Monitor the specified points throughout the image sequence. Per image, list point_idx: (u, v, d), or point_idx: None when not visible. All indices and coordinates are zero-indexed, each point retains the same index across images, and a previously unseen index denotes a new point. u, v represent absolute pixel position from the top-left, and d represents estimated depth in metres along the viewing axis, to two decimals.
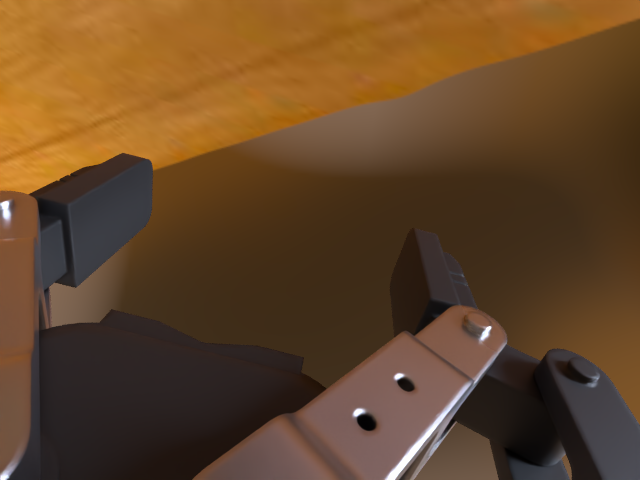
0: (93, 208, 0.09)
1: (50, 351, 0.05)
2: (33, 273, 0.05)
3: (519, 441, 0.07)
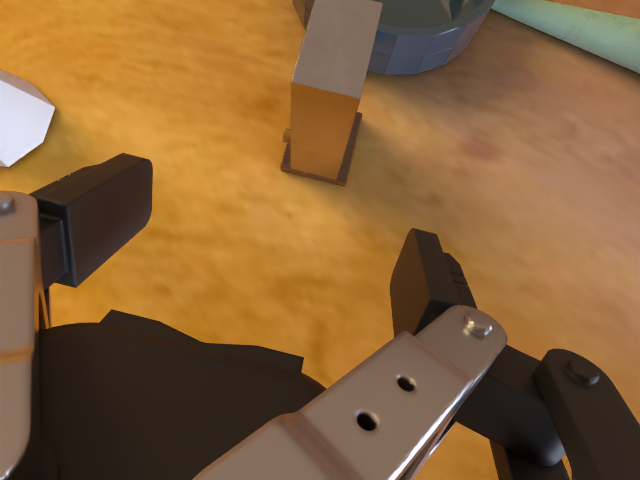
0: (93, 208, 0.09)
1: (50, 351, 0.05)
2: (33, 273, 0.05)
3: (519, 441, 0.07)
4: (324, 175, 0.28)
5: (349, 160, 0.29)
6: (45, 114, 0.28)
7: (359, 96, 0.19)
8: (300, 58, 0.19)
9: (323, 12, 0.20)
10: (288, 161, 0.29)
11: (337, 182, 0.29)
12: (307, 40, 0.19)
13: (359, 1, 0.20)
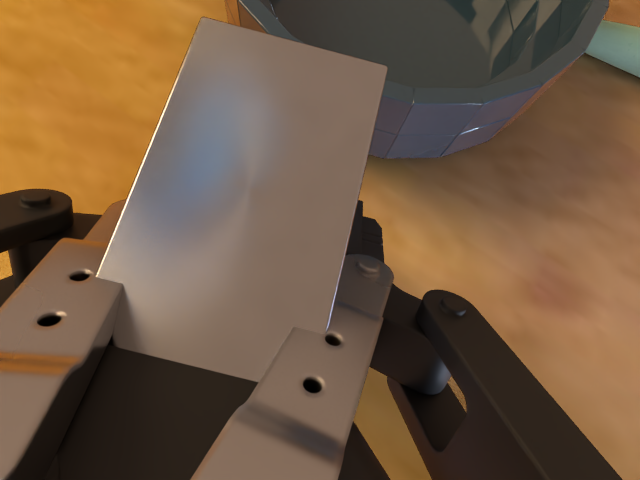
0: None
1: (111, 363, 0.05)
2: None
3: (403, 372, 0.08)
4: None
5: None
6: None
7: None
8: (109, 259, 0.06)
9: (206, 95, 0.07)
10: None
11: None
12: (142, 192, 0.06)
13: (319, 61, 0.07)
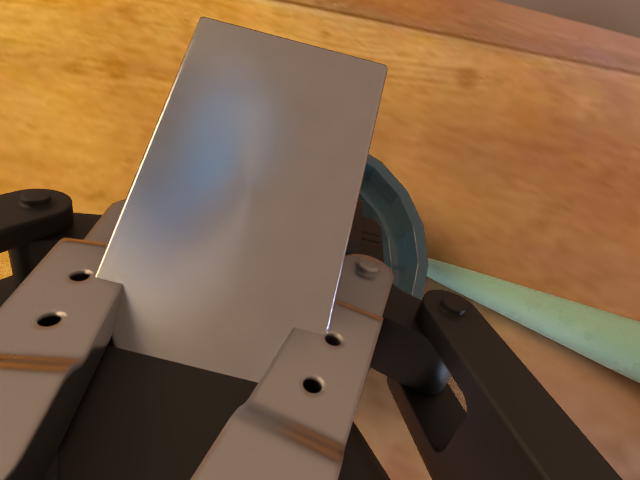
0: None
1: (111, 363, 0.05)
2: None
3: (403, 371, 0.08)
4: None
5: None
6: None
7: None
8: (109, 259, 0.06)
9: (206, 95, 0.07)
10: None
11: None
12: (142, 192, 0.06)
13: (318, 61, 0.07)
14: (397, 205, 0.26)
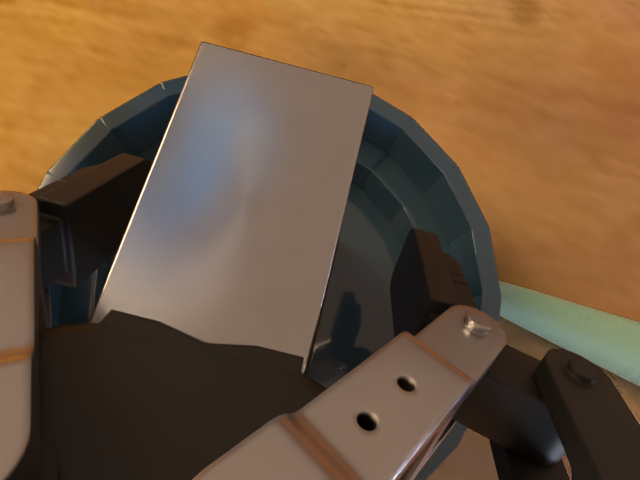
0: (93, 208, 0.09)
1: (50, 351, 0.05)
2: (33, 273, 0.05)
3: (519, 441, 0.07)
4: None
5: None
6: None
7: None
8: (118, 266, 0.06)
9: (206, 115, 0.07)
10: None
11: None
12: (148, 204, 0.07)
13: (309, 83, 0.07)
14: (439, 192, 0.15)
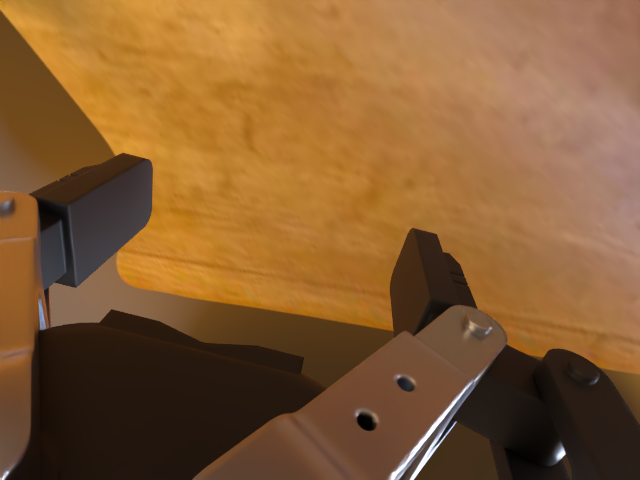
0: (93, 208, 0.09)
1: (50, 351, 0.05)
2: (33, 273, 0.05)
3: (519, 441, 0.07)
4: None
5: None
6: None
7: None
8: None
9: None
10: None
11: None
12: None
13: None
14: None
